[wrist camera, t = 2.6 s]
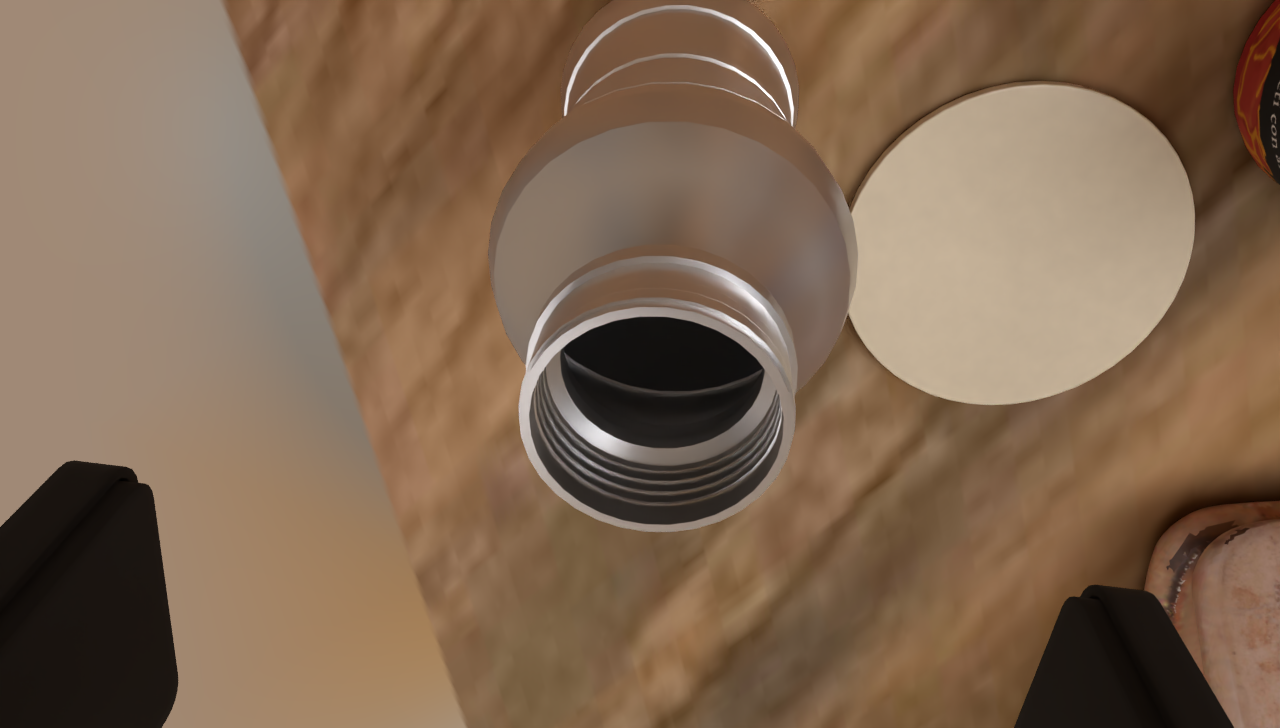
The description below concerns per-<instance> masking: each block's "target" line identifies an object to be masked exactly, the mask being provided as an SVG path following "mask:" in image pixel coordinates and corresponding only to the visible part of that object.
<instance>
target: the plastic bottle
mask: <svg viewBox="0 0 1280 728" xmlns="http://www.w3.org/2000/svg"><path fill="white" fill-rule="evenodd" d="M798 102H799V85H798V79H797V73H796V67H795V64H794V61H793V59H792V56H791V53H790V51H789V48H788V46H787V43H786V42H785V40H784V39H783V37H782V36H781V34H780V33H779V31H778V30H777V28H776V27H775V25H774V24H773V23H772V22H771V21H770V20H769V19H768V18H767V17H766V16H765V15H764V14H763V13H762V12H761V11H760V10H759V9H758V8H757V7H756V6H754V5H753V4H751V3H750V2H748V1H747V0H612V1H611V2H610V3H608V4H607V5H605V6H604V7H603V8H601V9H600V10H599V11H598V12H597V13H596V14H595V15H594V16H593V17H592V18H591V19H590V20H589V21H588V23H587V24H586V25H585V26H584V27H583V28H582V30H581V32H580V33H579V35H578V37H577V38H576V40H575V42H574V43H573V45H572V46H571V49H570V52H569V55H568V58H567V60H566V63H565V66H564V69H563V77H562V84H561V108H562V119H561V120H559V121H558V122H556V123H555V124H553V125H552V126H551V127H550V129H549V130H548V131H547V132H546V133H545V134H544V135H543V136H542V137H541V138H540V139H539V140H538V141H537V142H536V143H535V144H534V145H533V146H532V147H531V148H530V149H529V151H528V152H527V154H526V155H525V156H524V158H523V159H522V160H521V161H520V163H519V164H518V166H517V168H516V169H515V171H514V172H513V174H512V176H511V177H510V179H509V181H508V182H507V184H506V185H505V187H504V189H503V190H502V193H501V196H500V199H499V202H498V205H497V207H496V210H495V213H494V216H493V219H492V222H491V231H490V240H489V249H488V259H489V268H490V278H491V286H492V290H493V293H494V297H495V300H496V304H497V307H498V310H499V313H500V316H501V319H502V322H503V325H504V328H505V331H506V334H507V336H508V338H509V339H510V341H511V343H512V345H513V346H514V348H515V350H516V351H517V353H518V355H519V357H520V358H521V360H522V361H523V363H524V364H525V365H526V374H525V376H524V379H523V382H522V385H521V392H520V400H519V421H520V431H521V437H522V440H523V443H524V446H525V449H526V452H527V455H528V457H529V459H530V461H531V462H532V464H533V466H534V467H535V469H536V471H537V472H538V474H539V476H540V477H541V478H542V479H543V480H544V481H545V482H546V483H547V485H548V486H549V487H550V488H551V489H552V490H553V491H554V492H555V493H556V494H557V495H558V496H560V497H561V498H562V499H564V500H565V501H566V502H568V503H569V504H570V505H572V506H573V507H574V508H576V509H578V510H580V511H581V512H583V513H585V514H587V515H589V516H591V517H593V518H595V519H597V520H600V521H603V522H606V523H609V524H612V525H615V526H618V527H621V528H627V529H633V530H639V531H645V532H675V531H682V530H689V529H696V528H700V527H703V526H706V525H709V524H713V523H716V522H719V521H721V520H723V519H725V518H727V517H729V516H731V515H733V514H735V513H737V512H739V511H741V510H743V509H744V508H745V507H747V506H748V505H749V504H751V503H752V502H753V501H755V500H756V499H757V498H759V497H760V496H761V495H762V494H763V493H764V492H765V490H766V489H767V488H768V487H769V486H770V485H771V484H772V483H773V482H774V480H775V479H776V478H777V476H778V474H779V472H780V470H781V469H782V467H783V465H784V463H785V462H786V460H787V456H788V453H789V450H790V446H791V443H792V439H793V435H794V431H795V413H796V407H795V400H794V396H795V393H796V392H797V391H798V390H800V389H801V388H802V387H803V386H805V384H806V383H807V382H808V381H809V380H810V379H811V377H812V376H813V375H814V374H815V373H816V372H817V371H818V369H819V368H820V367H821V366H822V365H823V364H824V362H825V361H826V359H827V357H828V355H829V353H830V352H831V350H832V348H833V346H834V344H835V343H836V341H837V339H838V337H839V335H840V333H841V330H842V328H843V325H844V323H845V320H846V317H847V314H848V311H849V308H850V304H851V301H852V298H853V294H854V291H855V288H856V280H857V266H858V248H857V241H856V234H855V227H854V221H853V218H852V216H851V213H850V211H849V208H848V205H847V203H846V200H845V198H844V195H843V193H842V190H841V188H840V187H839V185H838V184H837V182H836V181H835V179H834V177H833V176H832V174H831V172H830V171H829V169H828V168H827V166H826V165H825V163H824V162H823V160H822V159H821V157H820V156H819V154H818V153H817V152H816V150H815V149H814V147H813V146H812V145H811V144H810V143H809V142H808V141H807V140H806V139H805V138H804V137H803V136H802V135H801V134H800V133H799V132H798V131H797V130H796V129H795V126H796V122H797V115H798Z"/></svg>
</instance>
